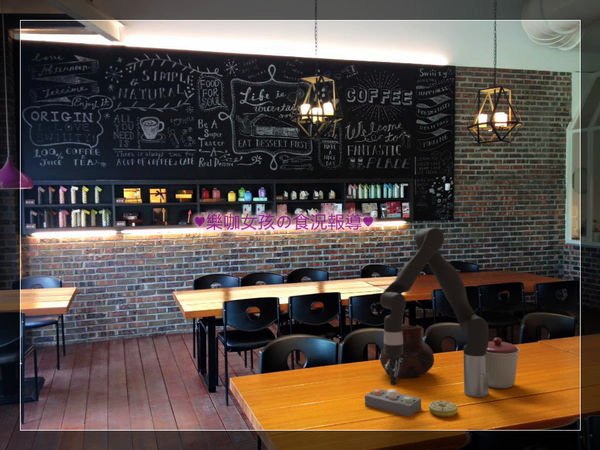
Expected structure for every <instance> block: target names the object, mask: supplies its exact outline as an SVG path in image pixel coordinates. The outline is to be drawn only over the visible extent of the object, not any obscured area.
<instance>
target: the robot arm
mask: <svg viewBox="0 0 600 450" xmlns="http://www.w3.org/2000/svg"><path fill="white" fill-rule="evenodd" d="M414 241H415V244H416V247H417V249H418V251H417V252H416V253H415V254H414V255H413V257H411V258H410V259H409V261H407V262H406V264H405V265H403V267H402V268H401V269H400V271H399V272H398V274H397V277H395V280H393V281H392V282H391V283H390V284H389V285H388V287H386V289H384V290H383V292H382V293H381V295H380V297H379V298H380V300H379V302H380V305H381V307H382V308H384V309H387V310H390V314H389V315H386V316H385V317H384V319H383V323H384V324H383V325H384V327H383V348H384V353H385V354H386V355H387V359H386V361H387V363H386V365H383V366H382V368H383V367H384V368H383V369H384V371H385V373H386V376H390V378H389V379H390V385H391V386H395V387H396V386H397V385H398V377H397V375H398V373H400V371H401V367H402V364H403V361H404V359H402V358H400V357H401V356H400V355H402V354H403V334H402V324H403V318H404V314H405V310H406V306H407V301H406V298H405V296H404V295H403V294H404V293H407V292H409V291H411V289H412V287H413V285H414V284H415V282H416V281H417V279H418V277H419V276H420V275H421V272H422V271H423V270H424V268H425V267H426V266H427V264H428V265H429V268H430V269H431V271H432V273H433V275H434V277H435V279H436V281H437V283H438V285H439V287H440V288H441V290H442V293H443V294H444V296H445V298H446V300H447V302H448V303H449V304H450V306H451V308H452V309H453V311H454V314H455V317H456V320H457V322H458V325H459V328H460V329H461V331H462V332H463V333H464V334H465V335H466V344H464V346H463V349H462V350H463V390H464V391H463V393H464V394H465V395H467V396H469V397H473V398H485V397H487V395H488V394H490V391H489V390H490V389H489V388H490V386H489V377H488V371H487V365H486V350H487V348H488V342H489V324H488V322H487V321H486V320H485V318H482V317H480V316H478V315H477V314H476V313H475V312H474V310H473V308H472V306H471V305H470V303H469V300H468V296H467V295H468V294H467V290H466V286H465V283H464V282H463V278H462V277H461V275H460V274H459V272H458V271H457V270H456V268H455V267H454V266H453V265H452V264H451V263H450V262H448V261H447V260H446V259H445V258H444V257H443V256H442V254H441V252H440V249H441V247H442V246H443V245H444V242H445V235H444V233H443V231H442V229H440V228H438V227H427V228H423V229H419V230H418V231H417V232H416V233H415V235H414Z"/></svg>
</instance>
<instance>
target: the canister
mask: <svg viewBox="0 0 600 450" xmlns="http://www.w3.org/2000/svg"><path fill="white" fill-rule="evenodd" d="M502 340H503V339H502V338H500V337H494V338H493V341H491V340H490V341H489V340H488V348H487V350H486V365H487V371H488V377H489V388H494V389H509V388H510V389H511V388H512V387H513V386H514V384H515V383H516V376H517V369H518V358H519V353H520V351H521V350H520V348H519V347H518V346H516V345H515V344H513V343H510V342H505V341H502Z"/></svg>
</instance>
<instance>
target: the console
mask: <svg viewBox="0 0 600 450" xmlns="http://www.w3.org/2000/svg"><path fill="white" fill-rule="evenodd" d="M376 389H379V388H377V387H376ZM380 389H381V388H380ZM381 390H382V395H381V396H377V395H373V390H372V391H370V392H369V393H366V394H365V395H364V405H365V406H366V407H367V406H368V407H371V408H375V409H379V410H383V411H386V412H390V413H394V414H398V415H401V416H404V417H411V416H412V415H414V414H415V413H417V412H418V411H419V410H421V409H422V398H419V397H416V396H411V395H408V394H403V393H401V392H400V393H399V392H398V398H397V399H395V400H393V399H389V398H388V395H387V391H388V390H387V389H384V388H383V389H381ZM405 396H410V397H413V403H411V404H410V403H405V402H403V397H405Z"/></svg>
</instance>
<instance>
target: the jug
mask: <svg viewBox="0 0 600 450" xmlns="http://www.w3.org/2000/svg"><path fill="white" fill-rule="evenodd" d="M422 328H423V326H417V325H410V324H408V323H402V334H403V354H402V355H400V356H401V357H400V358H402V359H404V361H403V364H402V367H401V371H400V373H398V375H397V378H399V379H410V380H411V379H417V378H419V377H422V376H423V375H426V373H428V372H429V371H430V370H431V369H432V368H433V366H434V363H435V356H434V352H433V350H432V348H431V347H430V345H429V344H427V343H426V342H423V341H422V330H423V329H422ZM386 359H387V355H386V354H385V353H384V347H383V348H382V350H381V353H380V364H381V366H382V368H383V369H384V367H383V365H386V363H387V361H386Z"/></svg>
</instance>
